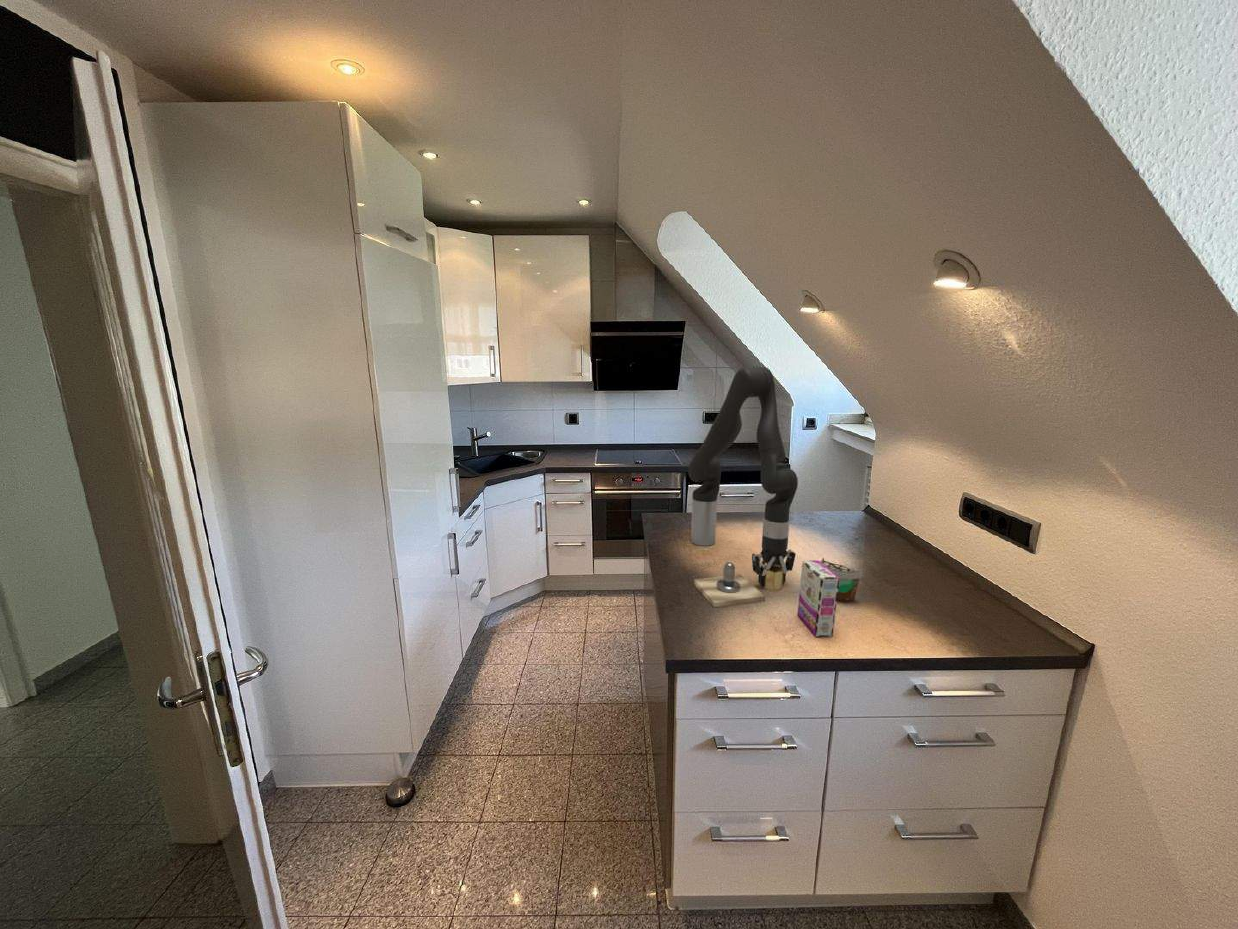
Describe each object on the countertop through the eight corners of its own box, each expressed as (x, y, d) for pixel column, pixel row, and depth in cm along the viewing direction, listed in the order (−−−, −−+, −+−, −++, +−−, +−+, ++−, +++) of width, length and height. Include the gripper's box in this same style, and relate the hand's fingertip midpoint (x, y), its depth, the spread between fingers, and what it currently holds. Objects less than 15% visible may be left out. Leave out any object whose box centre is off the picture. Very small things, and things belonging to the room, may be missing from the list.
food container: (808, 593, 146) (811, 562, 144) (819, 587, 150) (822, 556, 148) (849, 609, 137) (853, 576, 135) (859, 602, 141) (863, 570, 139)
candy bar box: (834, 637, 123) (840, 578, 120) (815, 638, 123) (821, 578, 119) (814, 614, 134) (819, 559, 131) (796, 615, 134) (801, 559, 130)
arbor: (712, 583, 149) (713, 559, 147) (733, 581, 150) (734, 556, 149) (722, 594, 142) (724, 568, 140) (744, 591, 144) (746, 566, 142)
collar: (757, 582, 153) (759, 565, 151) (774, 580, 154) (776, 563, 153) (767, 591, 147) (769, 573, 146) (785, 589, 148) (786, 571, 147)
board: (693, 583, 152) (694, 579, 151) (740, 578, 156) (740, 574, 155) (714, 607, 138) (714, 602, 137) (764, 601, 141) (765, 596, 141)
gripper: (789, 527, 152) (785, 576, 156) (747, 531, 149) (744, 581, 152) (803, 535, 145) (799, 587, 149) (760, 540, 141) (756, 592, 145)
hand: (771, 584), depth 150 cm, fingers closed on collar, 6 cm apart
